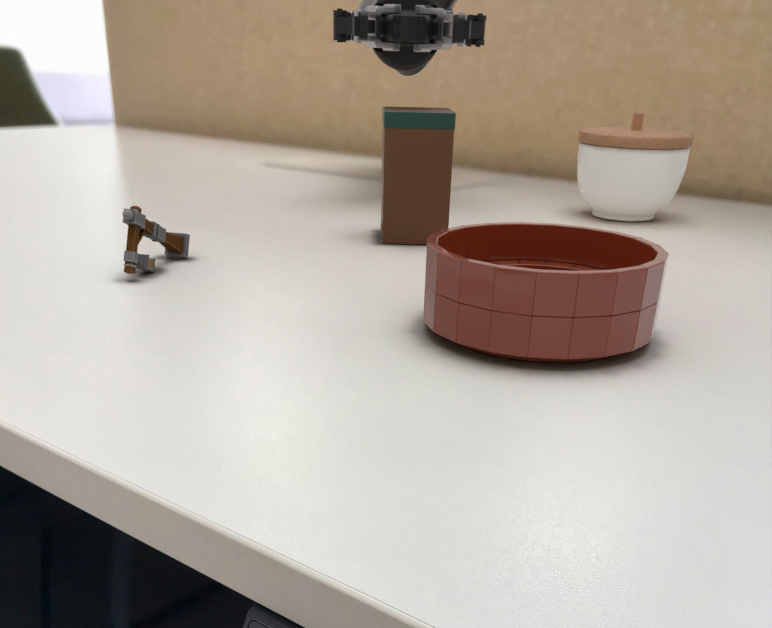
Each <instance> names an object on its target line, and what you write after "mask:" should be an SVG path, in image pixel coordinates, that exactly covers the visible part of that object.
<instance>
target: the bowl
mask: <svg viewBox="0 0 772 628" xmlns="http://www.w3.org/2000/svg"><path fill="white" fill-rule="evenodd" d="M425 255H426V256H425V273H424V275H425V276H424V277H425V278H424V294H423V295H424V298H423V318H422V319H423V320H422V321H423V322H424V324H425V325H426V326H427V327H428V328H429V329H430V330H431V331H432V332H433V333H435V334H436V335H438V336H440V337H443V338H445V339H446V340H448V341H451V342H453V343H456V344H459V345H461V346H463V347H465V348H466V349H467V348H468V349H470V350H473V351H476V352H479V353H483V354H487V355H490V356H493V357H494V356H495V357H499V358H505V359H511V360H518V361H526V362H537V363H577V362H586V361H593V360H599V359H604V358H608V357H611V356H615V355H616V356H617V355H622V354H627V353H630V352H634V351H636V350H638V349H640V348H642V347H644V346H646V345H648V344H649V343H650V342H651V340H652V338H653V335H654V333H655V330H656V324H657V320H658V315H659V314H658V313H659V310H660V309H659V308H660V304H661V299H662V293H663V289H664V283H665V277H666V273H667V267H668V262H669V257H670V254H669V252H668V251H667V250H666V249H665V248H664V247H663V246H661V244H658V243H655V242H654V241H650V240H648V239H646V238H643V237H640V236H637V235H633V234H628V233H624V232H619V231H616V230H611V229H604V228H597V227H590V226H584V225H576V224H575V225H574V224H565V223H564V224H563V223H555V222H554V223H552V222H528V221H527V222H526V221H507V222H506V221H503V222H482V223H481V222H480V223H471V224H463V225H457V226H453V227H448V228H447V229H443V230H440V231H438V232H436V233H434V234H432V235H430V236H429V237H428V240H427V244H426V254H425Z"/></svg>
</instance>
